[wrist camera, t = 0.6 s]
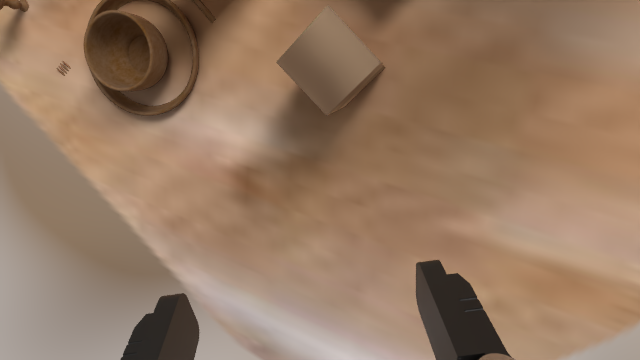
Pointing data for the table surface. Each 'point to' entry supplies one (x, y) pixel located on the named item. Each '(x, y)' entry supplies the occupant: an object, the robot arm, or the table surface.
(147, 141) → the table surface
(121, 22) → the place setting
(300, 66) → the walnut pillar
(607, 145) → the table surface
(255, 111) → the table surface
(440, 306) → the robot arm
